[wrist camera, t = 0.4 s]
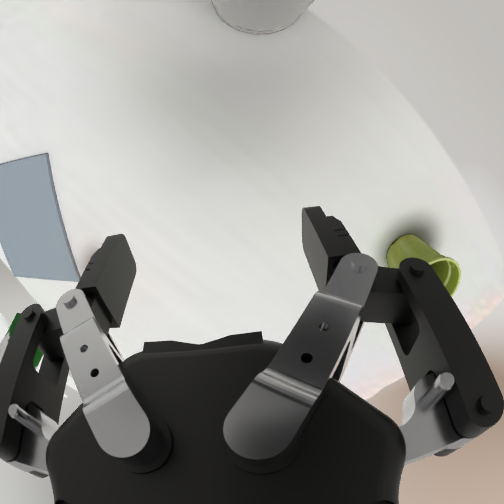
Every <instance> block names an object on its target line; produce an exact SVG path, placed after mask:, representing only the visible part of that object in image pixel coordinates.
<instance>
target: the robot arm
mask: <svg viewBox="0 0 504 504" xmlns="http://www.w3.org/2000/svg"><path fill="white" fill-rule="evenodd" d="M313 1H314V0H212V3H213V5H214V7H215V9H216V11H217V13H218V15H219V16H220V17H221V19H222V20H223V21H224V22H226V23H227V24H228V25H230V26H231V27H233V28H235V29H237V30H239V31H243V32H246V33H252V34H269V33H274V32H278V31H280V30H283V29H285V28H287V27H288V26H290V25H292V24H293V23H294V22H295V21H296V20H297V19H298V18H299V17H300V16H301V14H302V13H303V12H304V11H305V10H306V9H307V8H308V7H309V6H310V4H311V3H312V2H313ZM302 243H303V249H304V252H305V255H306V258H307V260H308V263H309V266H310V268H311V271H312V273H313V276H314V279H315V282H316V284H317V287H318V290H319V291H317V292H316V293H315V294H314V296H313V298H312V299H311V301H310V302H309V304H308V306H307V307H306V309H305V311H304V312H303V314H302V315H301V317H300V318H299V320H298V322H297V323H296V325H295V326H294V328H293V329H292V331H291V333H290V334H289V336H288V337H287V339H286V340H285V342H284V343H283V344H281V343H278V342H274V341H268V340H263V338H262V331H260V332H252V333H244V334H236V335H230V336H227V337H224V338H221V339H217V340H214V341H211V342H208V343H205V344H200V345H198V344H190V343H183V342H177V341H158V342H144V348H143V351H142V352H139V353H137V354H134V355H132V356H130V357H129V358H127V359H126V360H124V358H123V356H122V354H121V353H120V351H119V349H118V348H117V346H116V344H115V342H114V340H113V339H112V337H111V335H110V334H109V328H118V327H120V325H121V321H122V317H123V314H124V310H125V307H126V304H127V300H128V297H129V294H130V290H131V287H132V284H133V281H134V278H135V275H136V264H135V260H134V258H133V255H132V253H131V250H130V248H129V245H128V243H127V240H126V238H125V236H124V235H123V234H118V235H113V236H108V237H107V238H106V239H105V241H104V243H103V245H102V247H101V248H99V249H98V250H97V251H96V252H95V253H94V254H93V256H92V257H91V259H90V261H89V263H88V265H87V267H86V269H85V271H84V273H83V275H82V276H81V278H80V281H79V283H78V285H77V287H76V289H73V290H70V291H68V292H66V293H65V294H63V295H62V296H61V297H60V299H59V300H58V302H57V304H56V308H54V309H51V310H48V311H46V312H45V311H44V310H43V309H42V307H41V306H40V305H39V304H33V305H30V306H29V307H27V308H26V309H25V310H24V311H23V312H22V313H21V315H20V317H19V319H18V321H17V323H16V325H15V328H14V330H13V332H12V335H11V337H10V339H9V342H8V344H7V347H6V349H5V352H4V355H3V357H2V360H1V363H0V458H1V459H2V460H4V461H5V462H7V463H9V464H11V465H13V466H15V467H17V468H19V469H21V470H23V471H25V472H29V473H31V474H33V475H35V476H38V477H41V478H45V477H47V476H48V475H49V476H50V479H51V484H52V489H53V494H54V502H55V504H399V502H398V494H399V484H400V479H401V474H402V470H403V467H404V465H406V464H409V463H411V462H415V461H417V460H420V459H423V458H425V457H428V456H430V455H433V454H434V455H436V456H446V455H448V454H450V453H452V452H454V451H455V450H457V449H459V448H460V447H462V446H464V445H465V444H466V443H468V442H470V441H471V440H473V439H474V438H476V437H477V436H479V435H480V434H482V433H483V432H485V431H486V430H487V429H489V428H490V427H492V426H493V425H494V424H495V423H497V422H498V421H499V419H500V418H501V416H502V414H503V410H504V400H503V396H502V394H501V391H500V389H499V387H498V384H497V382H496V380H495V378H494V375H493V373H492V371H491V369H490V367H489V365H488V363H487V361H486V358H485V356H484V354H483V352H482V350H481V348H480V347H479V345H478V343H477V341H476V339H475V337H474V335H473V333H472V332H471V330H470V328H469V326H468V324H467V322H466V321H465V319H464V317H463V315H462V314H461V312H460V310H459V309H458V307H457V305H456V304H455V302H454V300H453V299H452V297H451V296H450V294H449V292H448V291H447V289H446V288H445V286H444V285H443V283H442V281H441V280H440V278H439V277H438V275H437V274H436V272H435V271H434V270H433V268H432V267H431V265H430V264H428V263H427V262H426V261H424V260H422V259H419V258H413V257H411V258H406V259H404V260H402V261H401V262H400V265H399V268H386V267H380V266H378V265H377V262H376V261H375V260H374V259H373V258H372V257H370V256H368V255H366V254H362V253H361V252H360V251H359V249H358V247H357V246H356V244H355V243H354V241H353V239H352V238H351V236H349V233H348V232H347V230H346V229H345V227H344V225H343V224H342V222H341V221H339V220H338V219H336V218H335V217H333V216H327V217H326V216H325V214H324V212H323V211H322V209H321V207H320V206H316V207H307V208H303V209H302ZM364 322H375V323H385V325H386V327H387V330H388V332H389V335H390V337H391V340H392V342H393V345H394V347H395V350H396V353H397V355H398V358H399V361H400V363H401V366H402V369H403V372H404V375H405V377H406V380H407V383H408V386H409V389H410V393H409V394H408V396H407V397H406V399H405V400H404V402H403V406H402V412H403V422H402V425H401V426H400V427H398V425H397V424H396V423H395V422H394V421H393V420H392V419H391V418H390V417H388V416H387V415H385V414H384V413H382V412H381V411H380V410H378V409H377V408H375V407H374V406H372V405H371V404H369V403H368V402H366V401H365V400H364V399H362V398H361V397H359V396H358V395H356V394H355V393H354V392H352V391H351V390H349V389H348V388H347V387H345V386H344V385H342V384H341V383H340V380H341V378H342V375H343V373H344V371H345V368H346V366H347V363H348V361H349V358H350V356H351V353H352V351H353V349H354V347H355V344H356V342H357V340H358V337H359V335H360V332H361V330H362V327H363V325H364ZM37 348H39V350H40V351H41V352H42V353H43V354H44V357H43V360H42V363H41V367H40V370H39V373H38V372H37V371H36V370H35V368H34V364H33V361H34V357H35V354H36V351H37ZM69 368H70V371H71V374H72V376H73V379H74V382H75V384H76V387H77V389H78V392H79V394H80V397H81V398H82V401H83V403H82V404H81V405H80V406H79V407H78V408H77V409H76V410H75V411H74V412H73V413H72V415H71V416H70V417H69V418H68V419H67V420H66V421H65V422H64V423H63V424H62V425H61V426H60V427H58V422H59V416H60V410H61V405H62V400H63V395H64V390H65V385H66V381H67V377H68V372H69Z"/></svg>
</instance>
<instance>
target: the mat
mask: <svg viewBox="0 0 504 504" xmlns="http://www.w3.org/2000/svg"><path fill="white" fill-rule="evenodd" d="M0 243H1V246H2V248H3V251H4V253H5V256H6V258H7V261H8V263H9V265H10V268H11V270H12V272H13V275H14V276H17V277H27V278H38V279H49V280H61V281H74V282H79V281H80V275H79V272H78V269H77V266H76V264H75V261H74V258H73V255H72V251H71V248H70V245H69V242H68V238H67V235H66V232H65V228H64V225H63V221H62V217H61V213H60V209H59V205H58V201H57V197H56V192H55V188H54V183H53V178H52V173H51V167H50V162H49V156H48V153H47V154H42V155H37V156H32V157H28V158H24V159H19V160H15V161H11V162H7V163H4V164H0Z"/></svg>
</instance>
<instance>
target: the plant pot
mask: <svg viewBox="0 0 504 504" xmlns="http://www.w3.org/2000/svg"><path fill="white" fill-rule="evenodd" d="M411 257H413V258H419V259H422V260H424V261H426V262H427V263H428V264H430V265H431V267H432V268H433V270H434V271H435V272H436V274H437V275H438V277H439V278H440V280H441V281H442V283H443V285H444V286H445V288H446V289H447V291H448V292H449V294H450V296H451V297H452V296H453V294H454V293H455V291H456V289H457V287H458V285H459V282H460V277H461V270H460V267H459V265H458V263H457V262H456V261H455V260H454V259H452V258H449V257H445V256H443V255H440V254H439V253H438V252H437V251H435V250H434V249H433V248H432V247H430V246H429V245H428V244H427V243H425V242H424V241H423V240H421V239H420V238H419V237H417V236H415V235H412V234H408V235H404V236H401V237H400V238H398V240H397V241H396V242H395V243H394V244H393V245H391V246H390V248H389V250H388V253H387V263H388V266H389V268H399V265H400V262H401V261H402V260H404V259H406V258H411Z"/></svg>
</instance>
